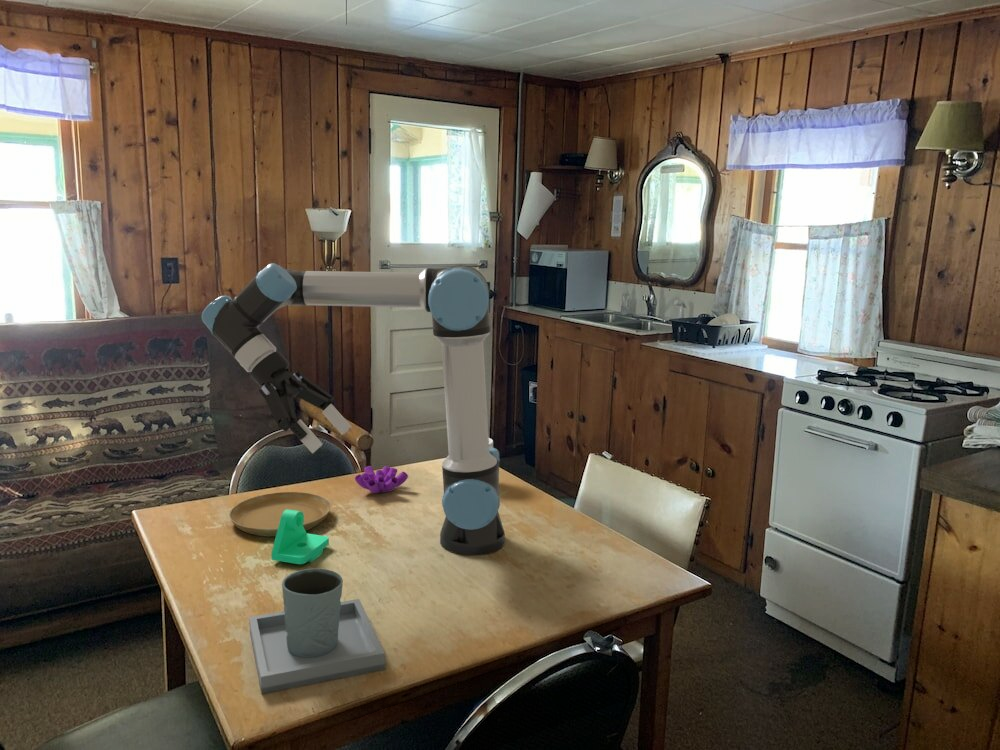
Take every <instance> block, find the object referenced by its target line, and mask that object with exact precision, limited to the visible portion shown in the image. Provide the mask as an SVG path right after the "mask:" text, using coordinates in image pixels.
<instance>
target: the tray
mask: <svg viewBox="0 0 1000 750" xmlns="http://www.w3.org/2000/svg"><path fill="white" fill-rule="evenodd" d="M340 602H341V606H340V617H339V627H338V642H337V645H336V647H335V648H334V649H333V650H332V651H331V652H329V653H328V654H325V655H323V656H319V657H314V658H302V657H298V656H295V655H293V654H291V653H290V652H289V650H288V648H287V639H286V636H287V632H286V626H285V613H284V610H283V611H276V612H270V613H265V614H260V615H259V614H258V615H253V616H249V617H248V618H249V619H248V620H249V636H250V640H251V641H250V642H251V645H252V646H251V647H252V650H253V656H254V660H255V661H254V662H255V667H256V672H257V673H256V674H257V677H258V683H259V689H260V694H261V695H265V694H269V693H274V692H279V691H283V690H289V689H293V688H300V687H304V686H309V685H313V684H319V683H323V682H328V681H333V680H337V679H344V678H348V677H353V676H359V675H363V674H368V673H374V672H377V671H383V670H386V652H385V649H384V648H383V646H382V645H383V644H381V641H380V639H379V637H378V635H377V633H376V631H375V628H374V626H373V624H372V623H371V621H370V618H369V616H368V614H367V612H366V610H365V608H364V606H363V604H362V602H361V599H359V598H356V599H351V600H343V601H340Z"/></svg>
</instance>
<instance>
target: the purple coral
mask: <svg viewBox="0 0 1000 750" xmlns="http://www.w3.org/2000/svg"><path fill="white" fill-rule="evenodd" d="M397 474H398V469H397V468H395V467H392V466H391V467H390V466H383V467H382V469H376V471H375V470H374V468H373V466H371V465H368V466H365V468H364V473H362V474H357V475H356V476H355V477H354V480H355V482H356V483H357V484H358V486H360V487H361V488H362V489H365V490H368V491H369V492H371V493H373V494H380V493H388V492H392V491H394V490H395V489H396V488H398V487H399V486H401V485H403V484H404V483H405V482H406V481H407V480H408V478H409V474H407V473H406V472H405V471H401V472H400V473H399V474H398V475H397Z"/></svg>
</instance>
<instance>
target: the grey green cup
mask: <svg viewBox="0 0 1000 750" xmlns="http://www.w3.org/2000/svg"><path fill="white" fill-rule="evenodd" d="M343 580H344V579H343V576H342V575H341V574H340V573H338V572H336V571H333V570H331V569H326V568H307V569H301V570H296V571H294V572H292V573H290V574H288V575H286V576H285V577H284V579H283V580H282V582H281V590H282V600H283V611H284V613H285V626H286V632H287V636H286V639H287V648H288V650H289V652H290V653H291V654H293V655H295V656H298V657H302V658H314V657H319V656H323V655H325V654H328V653H329V652H331V651H332V650H333V649H334V648H335V647H336V645H337V642H338V627H339V617H340V606H341V602H342V601H341V598H342V595H343V594H342V593H343V582H344V581H343Z"/></svg>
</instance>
